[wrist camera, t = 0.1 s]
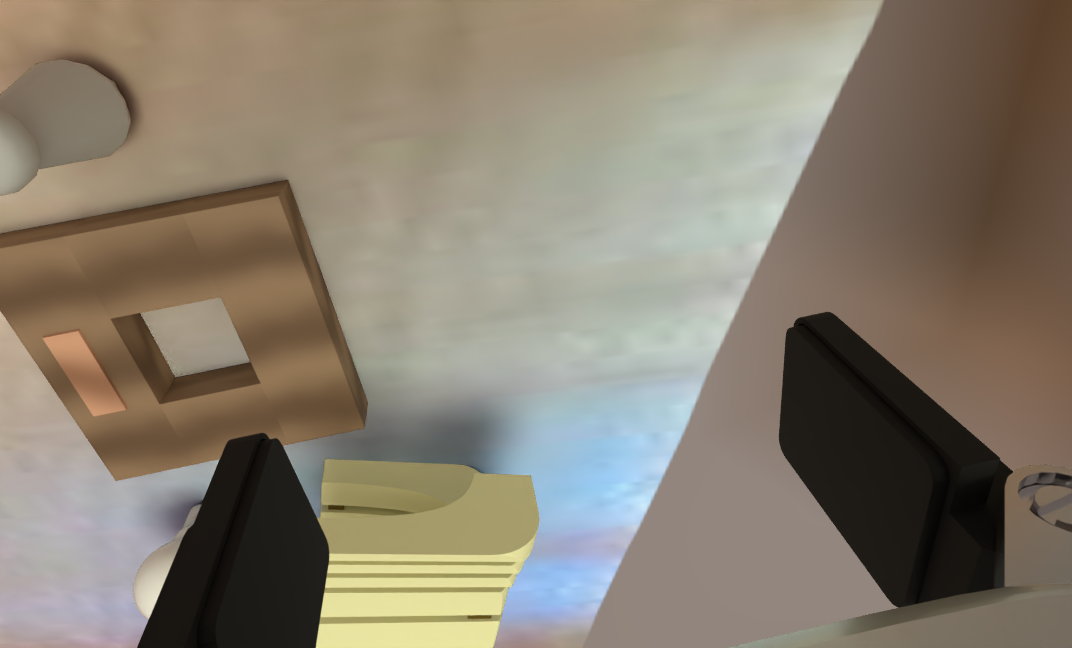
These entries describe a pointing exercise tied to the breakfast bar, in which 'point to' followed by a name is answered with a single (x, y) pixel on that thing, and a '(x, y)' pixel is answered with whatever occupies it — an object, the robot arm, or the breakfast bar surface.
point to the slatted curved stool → (420, 553)
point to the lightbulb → (158, 569)
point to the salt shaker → (58, 120)
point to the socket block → (170, 280)
